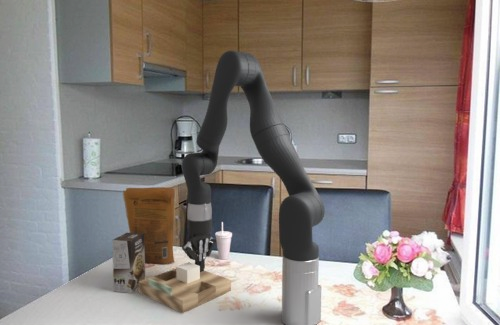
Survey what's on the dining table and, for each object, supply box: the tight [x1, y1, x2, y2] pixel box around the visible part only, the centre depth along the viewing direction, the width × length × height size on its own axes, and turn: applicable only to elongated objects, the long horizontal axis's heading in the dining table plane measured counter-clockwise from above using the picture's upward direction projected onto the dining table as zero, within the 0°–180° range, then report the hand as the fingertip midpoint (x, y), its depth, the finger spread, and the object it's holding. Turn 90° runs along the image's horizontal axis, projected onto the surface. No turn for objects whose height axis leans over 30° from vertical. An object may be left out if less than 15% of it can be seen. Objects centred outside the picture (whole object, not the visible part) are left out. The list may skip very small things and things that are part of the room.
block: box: [175, 261, 200, 284], centre depth 123 cm, size 5×5×4 cm
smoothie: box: [214, 221, 233, 261], centre depth 152 cm, size 6×6×14 cm
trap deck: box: [138, 268, 232, 314], centre depth 122 cm, size 20×19×6 cm
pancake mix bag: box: [122, 187, 177, 265], centre depth 146 cm, size 7×19×28 cm, turn 79°
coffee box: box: [112, 232, 146, 294], centre depth 125 cm, size 9×6×16 cm
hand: (200, 271), depth 126 cm, fingers closed
